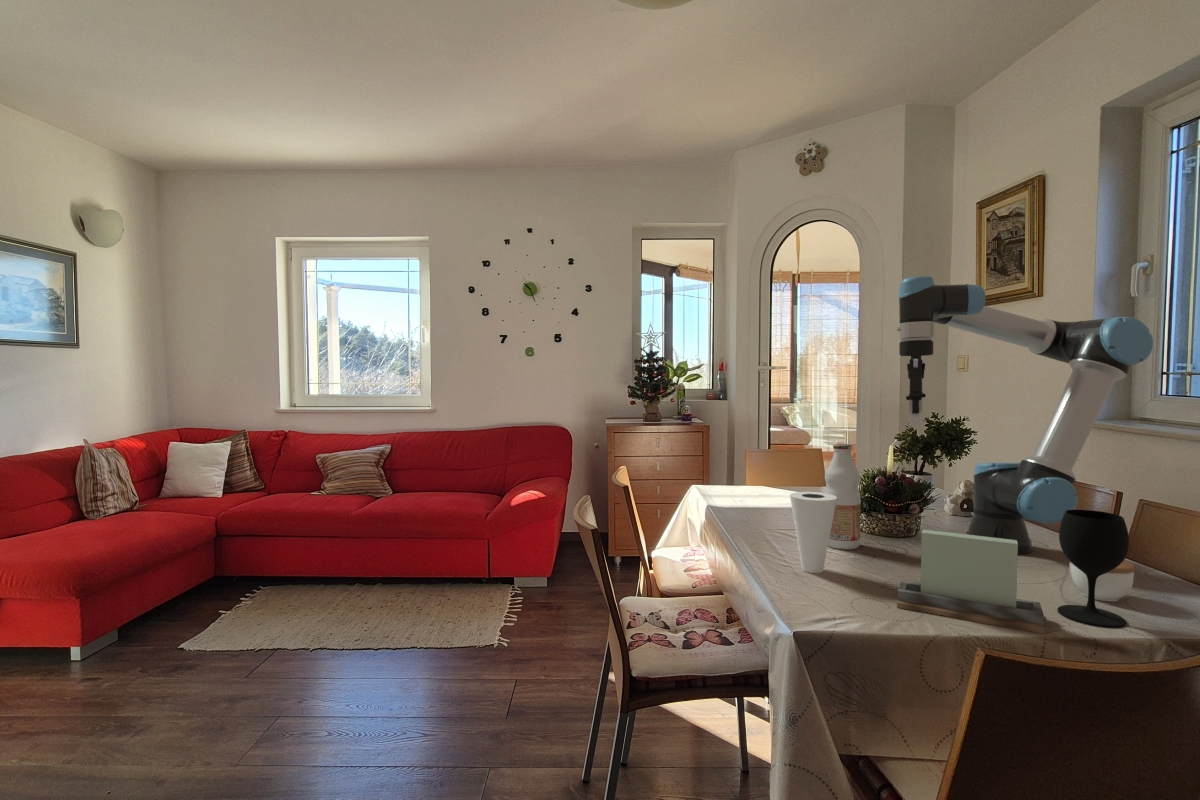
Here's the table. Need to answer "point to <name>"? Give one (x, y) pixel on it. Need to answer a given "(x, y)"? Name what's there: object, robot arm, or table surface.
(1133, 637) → the table surface
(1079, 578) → the lidded jar
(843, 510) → the fruit juice
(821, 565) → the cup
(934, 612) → the door track
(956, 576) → the door panel
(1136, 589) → the table surface
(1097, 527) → the wine glass
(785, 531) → the table surface
